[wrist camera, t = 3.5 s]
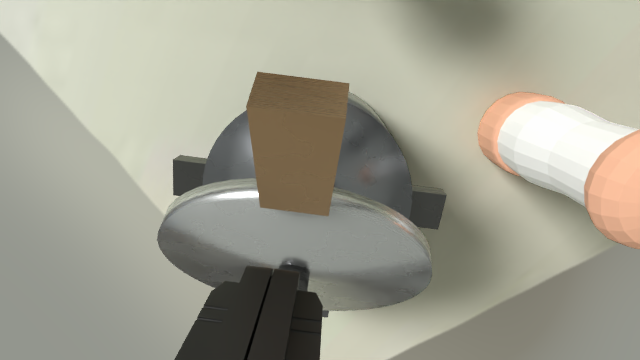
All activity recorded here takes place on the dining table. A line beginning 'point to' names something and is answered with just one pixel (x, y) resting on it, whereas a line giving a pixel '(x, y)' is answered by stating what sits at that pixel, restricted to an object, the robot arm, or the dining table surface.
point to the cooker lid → (298, 209)
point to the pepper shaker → (569, 157)
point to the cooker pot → (352, 171)
